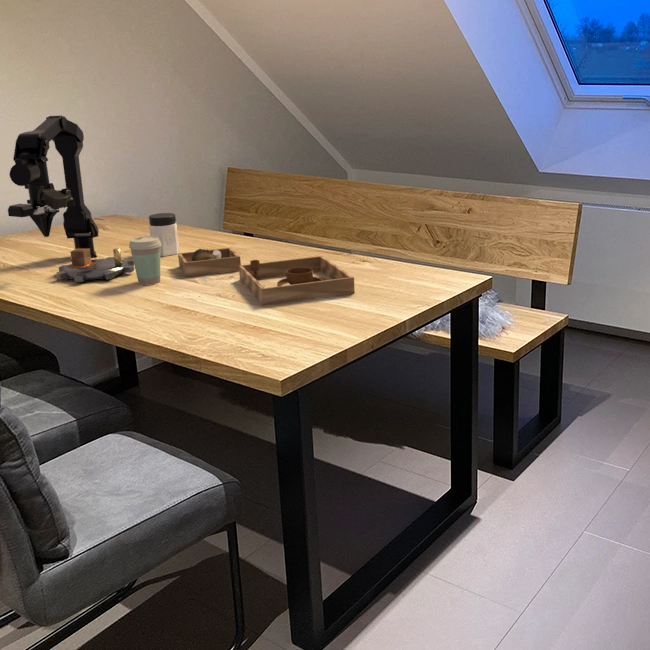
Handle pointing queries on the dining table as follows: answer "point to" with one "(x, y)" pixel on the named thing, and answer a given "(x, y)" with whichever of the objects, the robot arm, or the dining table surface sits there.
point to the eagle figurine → (205, 255)
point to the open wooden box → (209, 263)
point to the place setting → (291, 274)
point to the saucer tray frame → (296, 292)
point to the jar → (165, 232)
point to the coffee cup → (146, 258)
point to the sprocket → (97, 268)
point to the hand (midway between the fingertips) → (46, 236)
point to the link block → (81, 256)
